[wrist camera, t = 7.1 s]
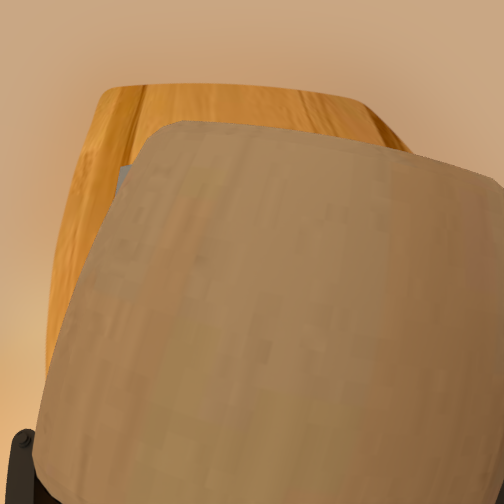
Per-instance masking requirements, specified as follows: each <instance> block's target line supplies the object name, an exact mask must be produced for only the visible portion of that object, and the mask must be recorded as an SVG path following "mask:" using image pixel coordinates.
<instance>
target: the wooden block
mask: <svg viewBox="0 0 504 504" xmlns="http://www.w3.org/2000/svg"><path fill="white" fill-rule="evenodd" d="M32 457H33V461H34V466H35V470H36V474H37V477H38V478H39V480H40V481H41V483H42V484H43V485H44V487H45V488H46V489H47V491H48V492H49V493H50V494H51V496H53V497H54V498H55V499H57V500H58V501H60V502H61V503H62V504H495V502H496V499H497V497H498V494H499V491H500V488H501V486H502V483H503V480H504V188H503V187H501V186H500V185H499V184H498V183H497V182H496V181H495V180H493V179H492V178H489V177H486V176H484V175H481V174H478V173H475V172H472V171H469V170H466V169H462V168H460V167H456V166H454V165H450V164H447V163H444V162H440V161H437V160H433V159H430V158H426V157H423V156H419V155H415V154H412V153H408V152H404V151H400V150H396V149H391V148H387V147H383V146H378V145H374V144H369V143H365V142H360V141H355V140H350V139H344V138H339V137H334V136H328V135H322V134H316V133H309V132H303V131H296V130H288V129H281V128H273V127H264V126H254V125H244V124H233V123H219V122H202V121H179V122H176V123H173V124H170V125H167V126H164V127H162V128H160V129H159V130H158V131H157V132H155V133H154V134H153V135H152V136H150V137H149V138H148V139H147V140H146V142H145V144H144V145H143V147H142V149H141V150H140V152H139V154H138V156H137V157H136V159H135V161H134V163H133V165H132V166H131V168H130V170H129V172H128V174H127V175H126V177H125V179H124V181H123V183H122V185H121V187H120V189H119V191H118V192H117V194H116V196H115V198H114V200H113V202H112V204H111V206H110V208H109V210H108V212H107V215H106V217H105V219H104V221H103V223H102V225H101V227H100V229H99V232H98V234H97V236H96V238H95V240H94V243H93V245H92V247H91V250H90V252H89V254H88V257H87V259H86V261H85V264H84V266H83V269H82V271H81V274H80V276H79V279H78V281H77V284H76V287H75V289H74V292H73V295H72V297H71V300H70V303H69V306H68V309H67V312H66V314H65V317H64V320H63V323H62V327H61V330H60V333H59V336H58V339H57V343H56V346H55V349H54V353H53V356H52V360H51V364H50V367H49V371H48V375H47V379H46V383H45V387H44V391H43V396H42V400H41V405H40V410H39V415H38V420H37V426H36V431H35V437H34V444H33V451H32Z"/></svg>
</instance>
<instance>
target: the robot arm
mask: <svg viewBox="0 0 504 504" xmlns="http://www.w3.org/2000/svg"><path fill="white" fill-rule="evenodd" d="M34 437H35V431H33V430H31V429H24V430H21V431H19V432H18V433H17V434H16V435H15V436H14V438H13V440H12V445H11V451H10V458H9V465H8V474H7V483H6V495H5V504H62V503H61V502H60V501H58V500H57V499H55V498H54V497H53V496H51V494H50V493H49V492H48V491H47V489H46V488H45V487H44V485H43V484H42V483H41V481H40V480H39V478H38V477H37V474H36V470H35V466H34V461H33V457H32V451H33V444H34ZM495 504H504V480H503V483H502V486H501V488H500V491H499V494H498V497H497V499H496V502H495Z"/></svg>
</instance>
